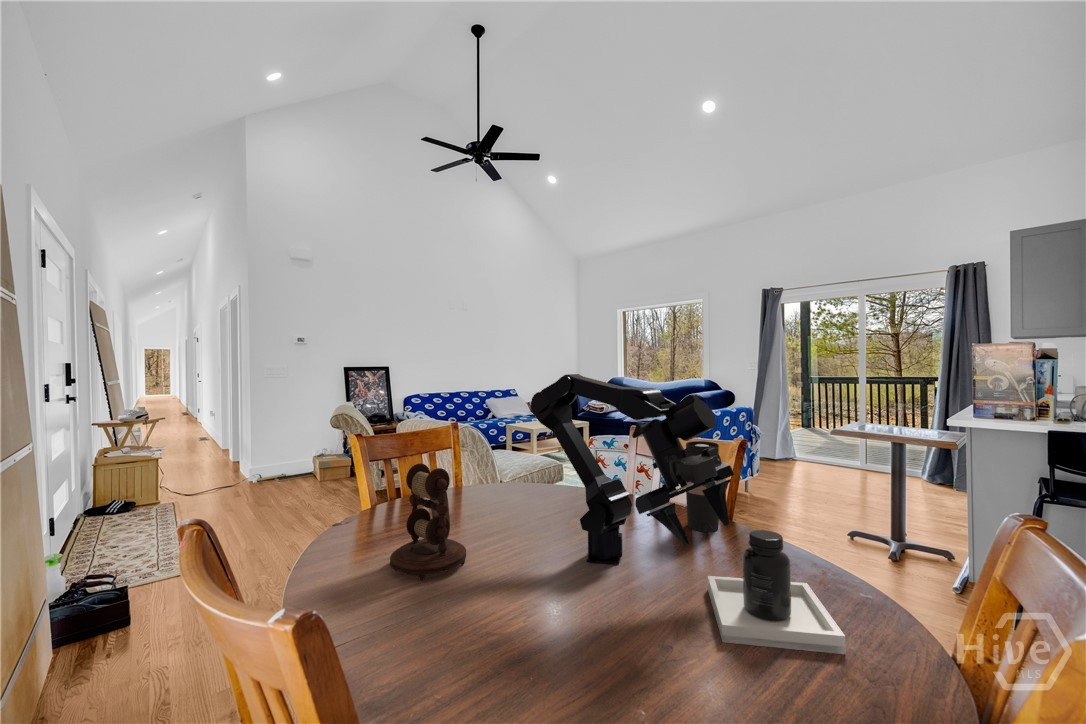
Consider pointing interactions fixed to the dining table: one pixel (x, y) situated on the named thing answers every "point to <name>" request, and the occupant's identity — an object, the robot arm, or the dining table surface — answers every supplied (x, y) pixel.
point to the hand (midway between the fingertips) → (707, 534)
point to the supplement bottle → (767, 577)
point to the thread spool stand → (428, 527)
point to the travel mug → (700, 497)
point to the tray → (799, 631)
